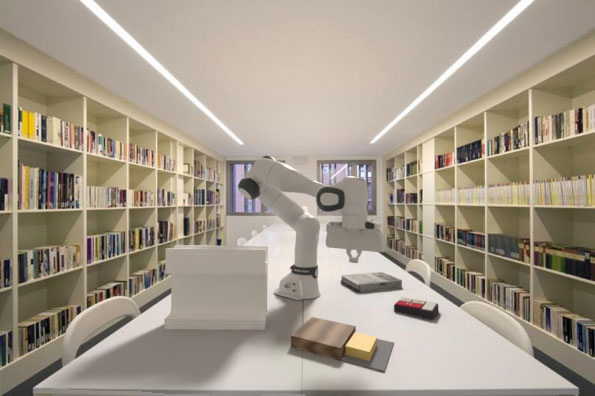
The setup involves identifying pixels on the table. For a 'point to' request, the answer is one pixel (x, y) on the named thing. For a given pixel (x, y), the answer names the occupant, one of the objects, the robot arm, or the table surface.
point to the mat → (374, 357)
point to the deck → (323, 337)
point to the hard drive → (371, 281)
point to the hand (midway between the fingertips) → (353, 262)
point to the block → (217, 287)
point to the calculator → (417, 308)
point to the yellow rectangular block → (361, 346)
